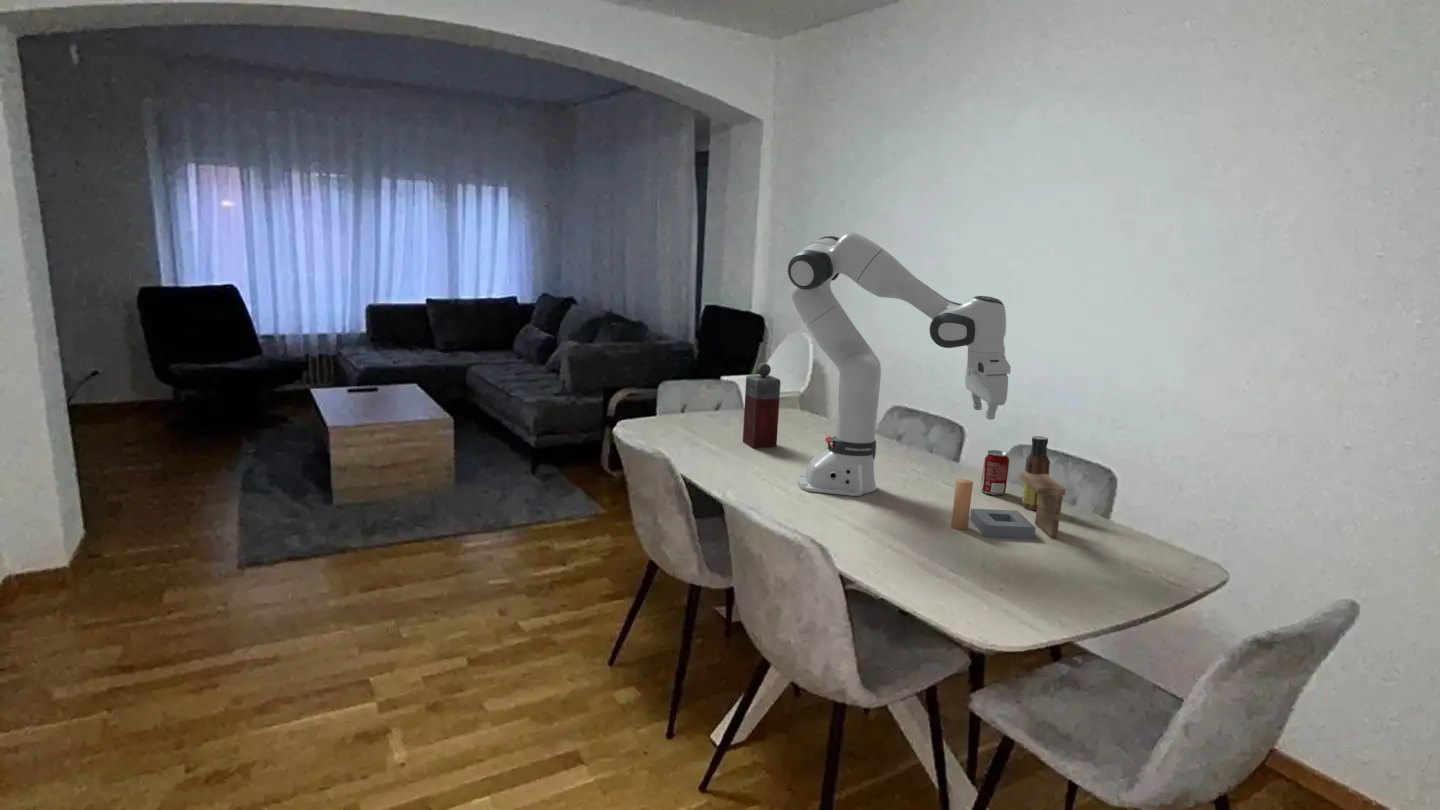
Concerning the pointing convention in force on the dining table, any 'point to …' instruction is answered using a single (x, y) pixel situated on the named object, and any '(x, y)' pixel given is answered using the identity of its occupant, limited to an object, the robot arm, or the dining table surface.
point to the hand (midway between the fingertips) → (983, 414)
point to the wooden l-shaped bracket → (1046, 501)
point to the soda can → (995, 472)
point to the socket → (1002, 523)
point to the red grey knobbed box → (761, 409)
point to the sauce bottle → (1035, 469)
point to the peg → (961, 504)
